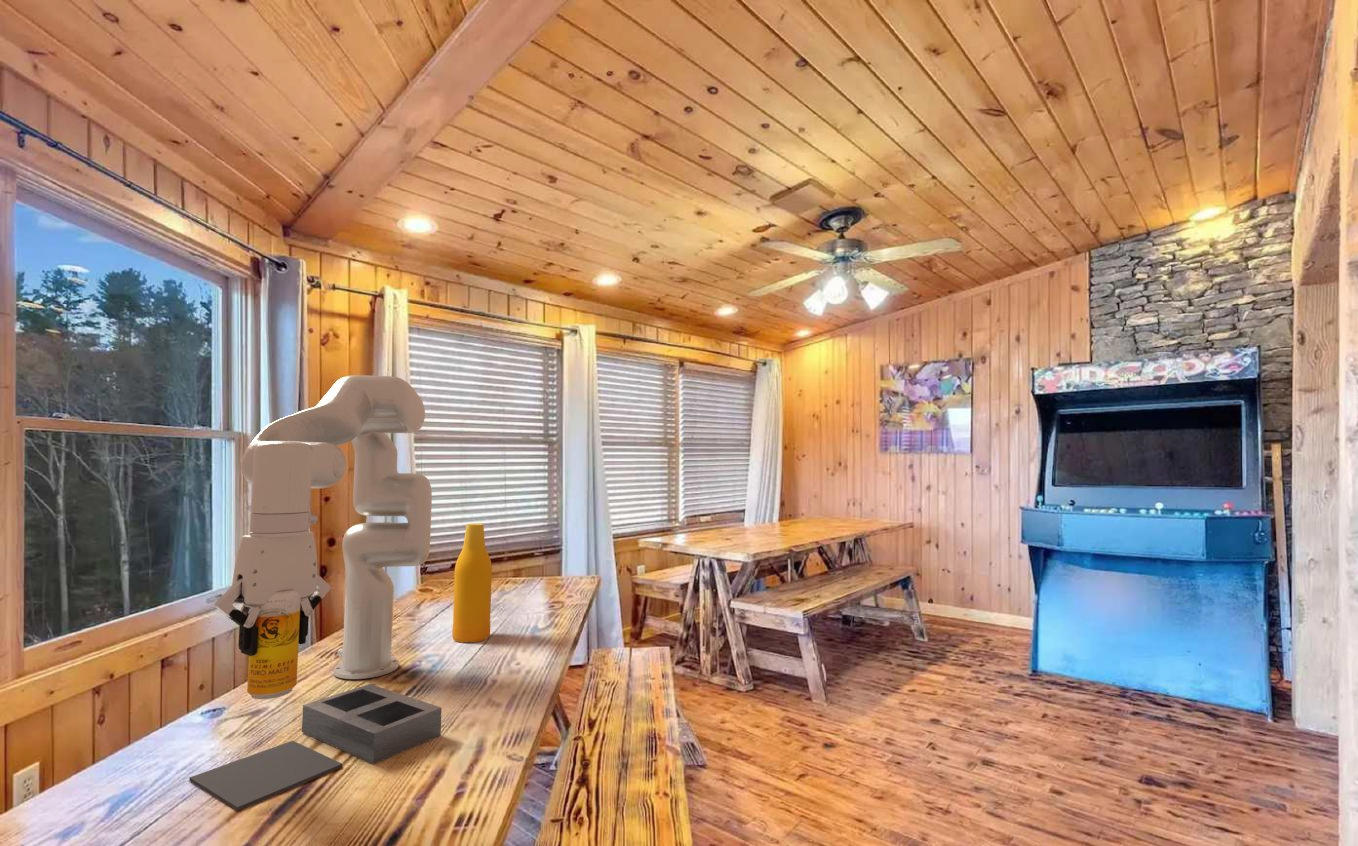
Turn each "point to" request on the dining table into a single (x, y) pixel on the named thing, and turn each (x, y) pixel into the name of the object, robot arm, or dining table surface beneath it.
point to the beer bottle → (472, 588)
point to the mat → (264, 774)
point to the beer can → (276, 647)
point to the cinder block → (371, 722)
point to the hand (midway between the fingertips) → (273, 646)
